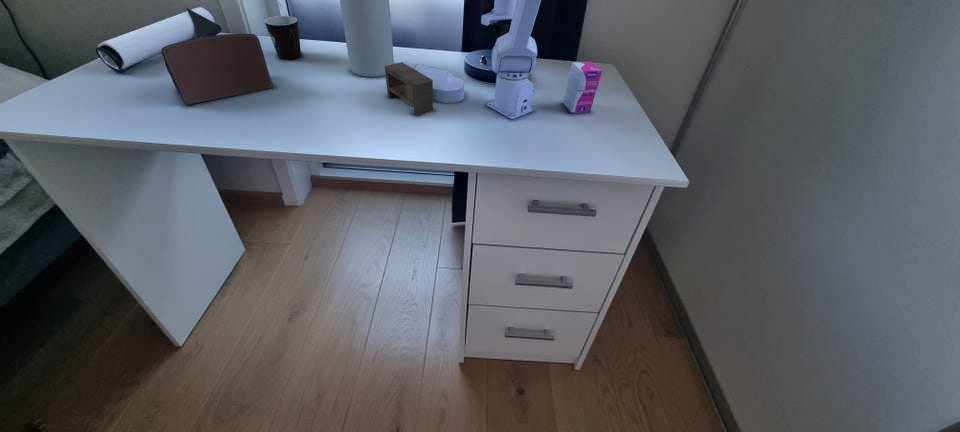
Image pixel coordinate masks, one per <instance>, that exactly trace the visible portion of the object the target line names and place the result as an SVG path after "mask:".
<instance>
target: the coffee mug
mask: <svg viewBox="0 0 960 432" xmlns="http://www.w3.org/2000/svg"><path fill="white" fill-rule="evenodd" d="M263 22H264V25H265V26H266V29H267V32H268V34H269V37H270V40H271V42H272V44H273V47H274V50H275V52H276V55H277V58H278V59H280V60H282V61H295V60H297V59H300V58H301V57H302V50H301V41H300V40H301V39H300V32H299V31H300V30H299V23H298V18H296V17H294V16H290V15H275V16H270V17H267V18H265V19H264V20H263Z"/></svg>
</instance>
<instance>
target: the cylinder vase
mask: <svg viewBox="0 0 960 432" xmlns="http://www.w3.org/2000/svg"><path fill="white" fill-rule="evenodd" d="M339 5H340V12H341V17H342V24H343V29H344V30H343V31H344V37H345V44H346V50H347V56H348V63H349V68H350V70H351V72H353V73H354V74H356V75H358V76H362V77H368V78H370V77H371V78H375V77H382V76H386V73H385V66H387V65H392V64H395V60H394V59H395V57H394V45H393V33H392V21H391V20H392V19H391V8H390V0H339Z"/></svg>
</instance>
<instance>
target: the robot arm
mask: <svg viewBox="0 0 960 432" xmlns="http://www.w3.org/2000/svg"><path fill="white" fill-rule="evenodd" d="M541 3H542V0H494V4H493V8H492V9H491V11H490V12H488V13H486V14H482V15H481V19H480V24H481V25H484V26H486V27H487V26H489V25H490V26H491V28H492V30H493V34H494V37H495V44H494V46H493V47H492V51H491V69H492V71H493V73H494V74H496V78H495V88H494V89H495V90H494V99H493V100H492V101H490V102H487V103H486V106H487V107H489V108H490V109H493V110H494V111H495V112H498V114H499V113H500V114H501V115H503V116H505V117H506V118H508V119H510V120H515V119H518V118H519V117H522V116H524V115H527V114H530V113H532V112H533V111H534V109H533V108H532V105H533V99H534V94H535V85H534V84H533V82H531V81H530V80H529V74H530V75H531V74H532V73H533V71H534V70H535V68H536V63H537V56H538V47H537V42H536V40H535V38H534V37H532V36H531V34H532V32H533V29H534V25H535V22H536V18H537V15H538V12H539V9H540V6H541Z"/></svg>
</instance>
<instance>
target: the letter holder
mask: <svg viewBox="0 0 960 432" xmlns="http://www.w3.org/2000/svg"><path fill="white" fill-rule="evenodd" d="M262 48H263V47H262V44H261V42H260V39H259V37H258V35H256V34H254V33H227V34H226V33H225V34H217V35H214V36H206V37H201V36H200V37H197V38H194V39H190V40H186V41H182V42H178V43H174V44H170V45H167V46H165V47H163V48H162V49H161V53H160V54H161V56H162V58H163V59H162V60H163V62H164V65H165V68H166V69H167V72H168V74H169V76H170V79H171V80H172V82H173V85H174V88H175V89H176V92H177V93H178V94H179V97H180V98H181V100H182V101H183V103H184V105H185V106H186V107H188V106H192V105H197V104H201V103H205V102H210V101H216V100H221V99H225V98H230V97H235V96H240V95H246V94H250V93H254V92H259V91H265V90H271V89H274V84H273V81H272V78H271V75H270V71H269V69H268V65H267V62H266V59H265V55H264V52H263V51H264V50H263V49H262Z"/></svg>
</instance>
